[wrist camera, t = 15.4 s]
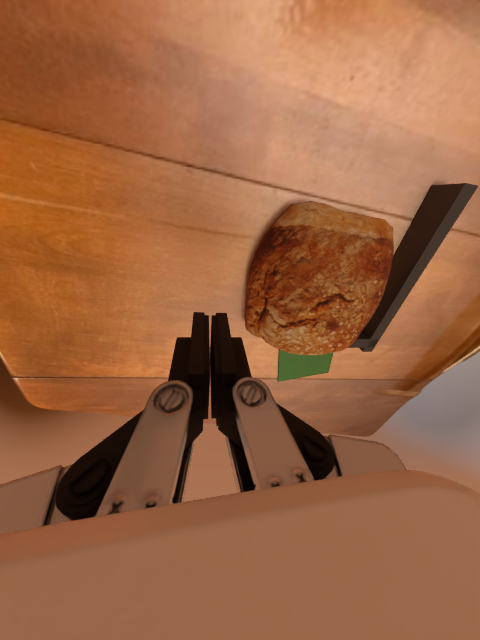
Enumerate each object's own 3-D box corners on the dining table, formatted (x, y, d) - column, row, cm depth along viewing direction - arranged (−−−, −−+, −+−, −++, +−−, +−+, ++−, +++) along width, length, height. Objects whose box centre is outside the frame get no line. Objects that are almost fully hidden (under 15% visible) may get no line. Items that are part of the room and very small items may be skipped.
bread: (239, 320, 32) (250, 362, 24) (257, 193, 23) (287, 190, 14) (342, 323, 36) (383, 360, 28) (395, 216, 27) (481, 224, 18)
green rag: (278, 347, 37) (279, 348, 37) (336, 338, 38) (336, 338, 38) (277, 380, 43) (278, 381, 42) (327, 371, 43) (328, 372, 43)
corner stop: (325, 164, 22) (345, 157, 19) (443, 187, 25) (478, 185, 22) (276, 338, 36) (283, 352, 32) (357, 338, 39) (371, 351, 36)
